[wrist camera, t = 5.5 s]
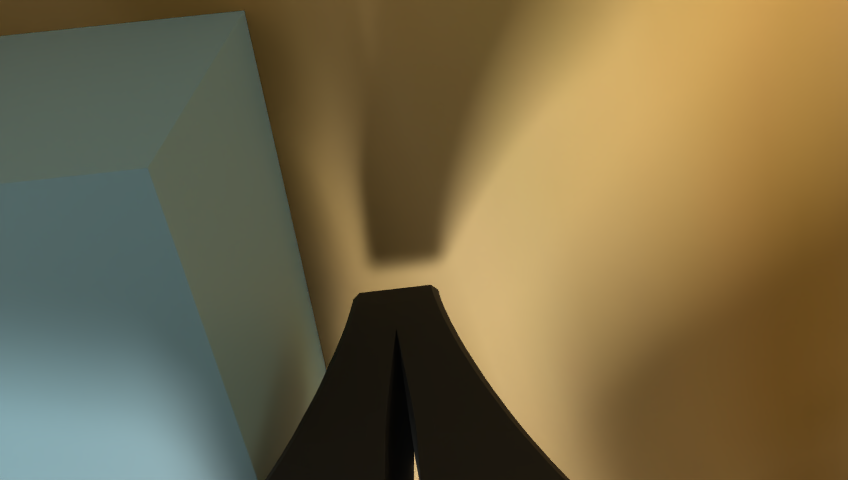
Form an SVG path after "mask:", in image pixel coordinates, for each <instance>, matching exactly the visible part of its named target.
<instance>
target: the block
mask: <svg viewBox="0 0 848 480" xmlns="http://www.w3.org/2000/svg"><path fill="white" fill-rule="evenodd" d="M325 373H326V367H325V362H324V358H323V353H322V349H321V345H320V340H319V336H318V332H317V327H316V323H315V318H314V314H313V310H312V305H311V301H310V296H309V292H308V288H307V283H306V279H305V275H304V270H303V266H302V261H301V257H300V253H299V248H298V244H297V240H296V235H295V231H294V226H293V222H292V218H291V213H290V209H289V205H288V200H287V196H286V191H285V187H284V183H283V178H282V174H281V169H280V165H279V161H278V156H277V152H276V148H275V143H274V139H273V134H272V130H271V126H270V121H269V117H268V113H267V108H266V104H265V99H264V95H263V91H262V86H261V82H260V78H259V73H258V69H257V64H256V60H255V56H254V51H253V47H252V42H251V38H250V34H249V29H248V25H247V21H246V16H245V12H244V10H243V11H234V12H224V13H215V14H205V15H196V16H186V17H177V18H167V19H158V20H148V21H139V22H129V23H120V24H110V25H101V26H91V27H82V28H72V29H63V30H53V31H44V32H34V33H25V34H15V35H6V36H0V480H265V479H266V478H267V476H268V475H269V473H270V472H271V470H272V469H273V467H274V465H275V464H276V462H277V461H278V459H279V458H280V456H281V454H282V453H283V451H284V449H285V448H286V446H287V444H288V443H289V441H290V439H291V438H292V436H293V434H294V432H295V431H296V429H297V427H298V425H299V423H300V421H301V420H302V418H303V416H304V414H305V412H306V410H307V409H308V407H309V405H310V403H311V401H312V399H313V398H314V396H315V394H316V392H317V390H318V388H319V386H320V384H321V381H322V379H323V377H324V375H325Z"/></svg>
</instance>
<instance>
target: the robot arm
mask: <svg viewBox="0 0 848 480" xmlns="http://www.w3.org/2000/svg"><path fill="white" fill-rule="evenodd" d="M414 454H415V459H416V465H417V470H418V475H419V480H569V479H568V478H567V477H566V476H565V475H564V473H563V472H562V471H561V470H560V469H559V468H558V467H557V466H556V465H555V464H554V463H553V462H552V461H551V460H550V459H549V458H548V456H547V455H546V454H545V453H544V452H543V451H542V450H541V449H540V447H539V446H538V445H537V444H536V443H535V442H534V441H533V440H532V438H531V437H530V436H529V435H528V434H527V432H526V431H525V430H524V429H523V428H522V426H521V425H520V424H519V423H518V421H517V420H516V419H515V418H514V416H513V415H512V414H511V413H510V411H509V410H508V409H507V407H506V406H505V405H504V403H503V402H502V401H501V399H500V398H499V397H498V395H497V394H496V393H495V391H494V390H493V389H492V387H491V386H490V384H489V383H488V381H487V380H486V379H485V377H484V376H483V374H482V373H481V371H480V370H479V368H478V366H477V365H476V363H475V362H474V360H473V359H472V357H471V356H470V354H469V353H468V351H467V349H466V348H465V346H464V344H463V343H462V341H461V339H460V338H459V336H458V334H457V332H456V330H455V328H454V327H453V325H452V323H451V321H450V319H449V317H448V315H447V313H446V310H445V308H444V306H443V303H442V301H441V298H440V295H439V291H438V290H437V289H436V288H435V287H433V286H432V285H425V286H417V287H408V288H399V289H391V290H382V291H373V292H365V293H359V294H358V295H357V296H356V297H355V298H354V299H353V303H352V307H351V310H350V314H349V317H348V320H347V323H346V326H345V328H344V331H343V334H342V336H341V339H340V341H339V343H338V346H337V348H336V351H335V353H334V356H333V358H332V360H331V362H330V364H329V366H328V368H327V371H326V373H325V375H324V377H323V379H322V381H321V384H320V386H319V388H318V390H317V392H316V394H315V396H314V398H313V399H312V401H311V403H310V405H309V407H308V409H307V410H306V412H305V414H304V416H303V418H302V420H301V421H300V423H299V425H298V427H297V429H296V431H295V432H294V434H293V436H292V438H291V439H290V441H289V443H288V444H287V446H286V448H285V449H284V451H283V453H282V454H281V456H280V458H279V459H278V461H277V462H276V464H275V465H274V467H273V469H272V470H271V472H270V473H269V475H268V476H267V478H266V479H265V480H414Z"/></svg>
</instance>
